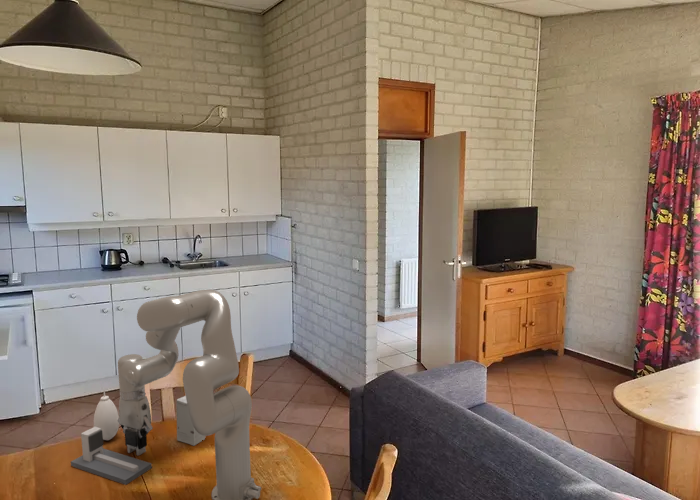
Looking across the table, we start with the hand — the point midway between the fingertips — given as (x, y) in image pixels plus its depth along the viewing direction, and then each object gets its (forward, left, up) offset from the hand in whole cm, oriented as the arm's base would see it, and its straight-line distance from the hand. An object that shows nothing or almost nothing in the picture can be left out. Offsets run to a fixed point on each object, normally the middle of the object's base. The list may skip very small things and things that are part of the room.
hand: (136, 444), depth 173 cm
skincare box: (-11, -14, -3) cm, 18 cm away
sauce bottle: (+16, -2, -3) cm, 16 cm away
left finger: (0, 0, -2) cm, 2 cm away
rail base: (0, +10, -2) cm, 10 cm away
